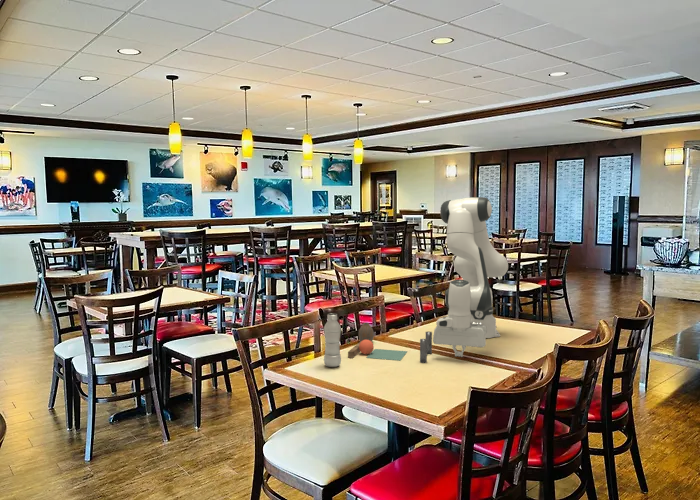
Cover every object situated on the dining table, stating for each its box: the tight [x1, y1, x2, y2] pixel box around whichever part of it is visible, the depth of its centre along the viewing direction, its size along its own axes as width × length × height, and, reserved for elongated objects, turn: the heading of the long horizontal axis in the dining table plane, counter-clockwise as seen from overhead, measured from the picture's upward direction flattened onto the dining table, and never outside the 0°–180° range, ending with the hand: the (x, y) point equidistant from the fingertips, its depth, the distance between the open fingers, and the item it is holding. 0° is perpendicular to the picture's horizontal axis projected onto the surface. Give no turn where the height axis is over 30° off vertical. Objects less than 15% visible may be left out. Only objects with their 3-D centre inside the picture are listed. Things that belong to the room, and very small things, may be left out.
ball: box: [359, 340, 375, 355], centre depth 215 cm, size 6×6×6 cm
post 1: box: [419, 338, 428, 364], centre depth 202 cm, size 3×3×9 cm
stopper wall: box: [347, 340, 361, 359], centre depth 217 cm, size 18×2×2 cm, turn 163°
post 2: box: [425, 331, 433, 355], centre depth 215 cm, size 3×3×9 cm
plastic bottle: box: [323, 313, 342, 368], centre depth 197 cm, size 6×7×20 cm
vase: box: [358, 322, 375, 342], centre depth 235 cm, size 7×7×9 cm
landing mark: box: [365, 348, 408, 362], centre depth 214 cm, size 14×14×1 cm
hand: (459, 356), depth 205 cm, fingers closed
